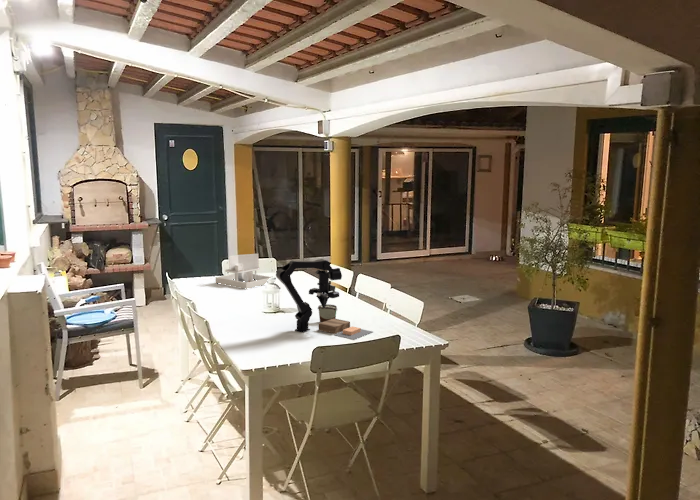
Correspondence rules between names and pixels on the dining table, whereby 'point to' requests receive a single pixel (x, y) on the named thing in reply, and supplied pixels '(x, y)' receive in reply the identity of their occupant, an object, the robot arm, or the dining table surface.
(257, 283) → the holder corral
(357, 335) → the mat
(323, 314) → the food container
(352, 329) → the peach block
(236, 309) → the dining table surface
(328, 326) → the brown flat block
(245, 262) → the architectural model
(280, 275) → the robot arm
